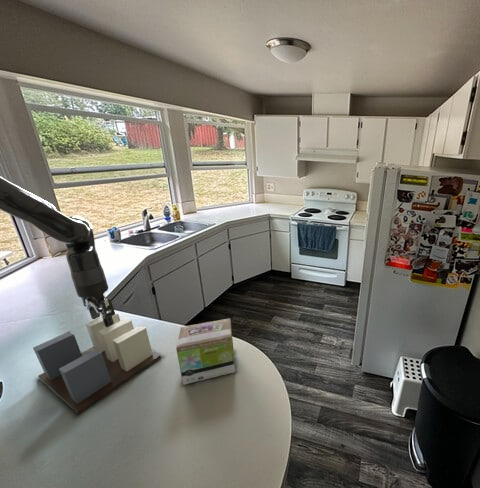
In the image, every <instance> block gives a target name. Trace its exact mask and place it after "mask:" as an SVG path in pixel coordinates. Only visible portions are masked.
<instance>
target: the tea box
mask: <svg viewBox="0 0 480 488" xmlns="http://www.w3.org/2000/svg"><path fill="white" fill-rule="evenodd" d="M175 349H176V356H177V360H178V365H179V371H180V375H181V381H182V384H183V385H184V386H185V385H189V384H192V383H193V384H194V383H196V382H201V381H205V380H209V379H213V378H217V377H221V376H225V375H229V374H234V373H235V372H236V369H235V351H234V340H233V330H232V320H231V318H223V319H219V320H213V321H206V322H202V323H197V324H190V325H184V326H180V329H179V334H178V338H177V344H176V348H175Z"/></svg>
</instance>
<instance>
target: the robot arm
mask: <svg viewBox="0 0 480 488" xmlns="http://www.w3.org/2000/svg"><path fill="white" fill-rule="evenodd" d="M0 211H1V212H3V213H6V214H8V215H9V216H13V217H15V218H16V219H19V220H21V221H23V222H25V223H28V224H30V225H32V226H34V227H35V228H37V229H38V230H39V231H41V232H42V233H44V234H45V235H47V236H49V237H50V238H52V239H54V240H56V241H58V242H61V243H63V244H65V247H66V254H65V258H66V262H67V265H68V267H69V271H70V277H71V280H72V283H73V286H74V289H75V292H76V295H77V296H78V297H79V298H81V301H82V305H83V307H84V308H86V310H88V312H89V315H90V318H91V320H95V319H98V318H100V317H102V318H103V321H104V324H105V327H109V326H111V325H113V324H114V322H113V318H112V316H113V315H115V312H116V311H115V309H114V305H113V303H112V299H110V298H107V297H106V295H105V294H106V292H107V291H108V290H109V284H108V281H107V278H106V275H105V274H106V273H105V271H104V268H103V266H102V264H101V261H100V258H99V254H98V252H97V249H96V242H95V241H96V240H95V235H94V229H93V226H92V224H91V223H90V221H89V220H87V219H85V218H84V217H81V216H79V215H76V216H75V215H74V216H73V215H72V216H67V215H65V214H63V213H61V212H60V211H58V210H57V209H56V207H55V206H54V205H53V204H52V203H50V202H48V201H47V200H44V199H43V198H41V197H39V196H37V195H35V194H33V193H32V192H29V191H27V190H25V189H23V188H21V187H20V186H19V185H17V184H14V183H12V182H11V181H9V180H7V179H6V178H4V177H2V176H0Z"/></svg>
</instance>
